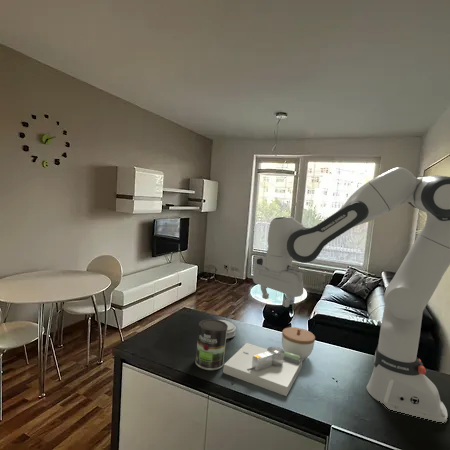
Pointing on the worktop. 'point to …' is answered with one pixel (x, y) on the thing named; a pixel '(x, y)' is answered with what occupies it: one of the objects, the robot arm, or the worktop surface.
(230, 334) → the lid
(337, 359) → the worktop surface
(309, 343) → the lidded bowl
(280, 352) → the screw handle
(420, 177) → the robot arm
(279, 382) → the base
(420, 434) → the worktop surface
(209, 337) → the coffee can
